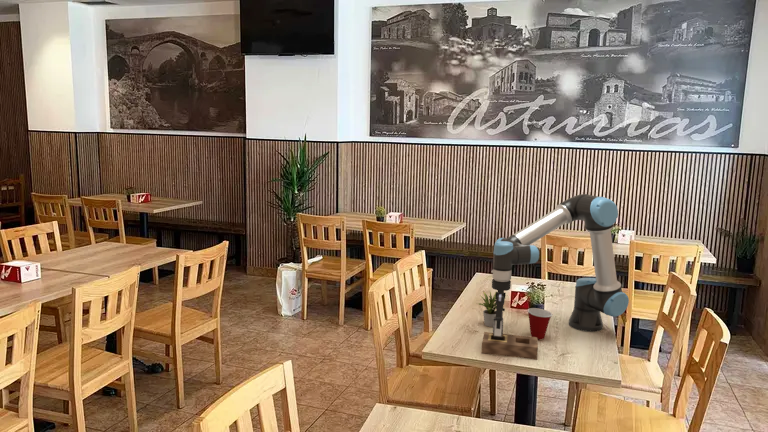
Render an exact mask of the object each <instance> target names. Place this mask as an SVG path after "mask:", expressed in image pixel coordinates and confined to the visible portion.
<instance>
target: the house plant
mask: <svg viewBox="0 0 768 432" xmlns="http://www.w3.org/2000/svg"><path fill="white" fill-rule="evenodd" d="M496 292H497V291H495V292H494V295H493V296H492V293H491V291H489V295H488V294H486V292H485V291H483V295H484V297H483V296H482V295H480V297H481V299H482V300H483V301H484V302H483V303H478V304H477V305H480V306H483V307H485V310H483V311H482V314H483V315H482V316H483V323H484V326H485V327H488V328H493V318H494V317H496V305H497V304H496ZM506 297H508V295H506ZM506 297H505V299H506Z"/></svg>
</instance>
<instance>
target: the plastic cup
mask: <svg viewBox="0 0 768 432" xmlns="http://www.w3.org/2000/svg"><path fill="white" fill-rule="evenodd" d="M527 313H528V321H529V323H528V324H529V330H530V337H537V341H538V340H542V341H543V340H544V339H545V337H546V334H547V333H546V332H547V330H548V326H549V322H550V320H551V319H552V317H553V313H552V312H551V311H549V310H546V309H542V308H538V307H537V308H536V307H531V308H528V309H527Z"/></svg>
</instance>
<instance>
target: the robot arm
mask: <svg viewBox="0 0 768 432" xmlns="http://www.w3.org/2000/svg"><path fill="white" fill-rule="evenodd" d="M618 217H619V209H618V206H617V204H616V203H615V202H614V201H613V200H611V199H610V198H608V197H607V198H606V197H605V196H597V195H593V194H592V195H591V194H588V193H583V194H582V193H581V194H578V195H574V196H572V197H570V198H568V199H565V200H564V201H562V202H560V203H559V204H557V205H556V206H555V208H554V209H553V210H551V211H550V212H548V213H547V214H545V215H543V216H542V217H540V218H539V219H537V220H535V221H534V222H532V223H530V224H528V225H527V226H525V227H523V228H522V229H520V230H518V231H517V232H515V233H514V234H512V235H511V236H509V237H499V238H498V239H497V240H496V241H495V242H494V246H493V252H492V253H493V257H492V258H493V259H492V260H493V263H492V270H491V272H490V273H491V274H492V279H491V288H492V289H493V290H495V292H496V301H495V302H496V304H497V305H496V309H495V311H496V318H495V319H494V320H495V332H494V336H501V330H502V317H503V318H504V312H505V310H506V309H505V308H504V305H505V298H506V296H507V295H506V292H505V291H509V290H510V289H511V285H512V284H511V283H512V281H511V280H512V273H513V272H512V269H513V265H514V266H515V265H530V264H536V263H538V261H539V259H540V251H539V249H538V247H537V246H536V245H534V243H535V242H537V241H539V240H540V239H542V238H544V237H545V236H546V235H548V234H551V232H554V231H555V230H556V229H558V228H560V227H561V226H563V225H565V224H568V225H569V224H571V223H573V222H575V221H583V222H584V228H585V230H586V231H587V232H589V235H590V236H589V237H590V245H591V252H592V260H593V261H592V262H593V266H594V274H595V277H581V278H578V279H576V281H575V282H576V283H575V288H574V289H575V290H574V306H573V310H572V312H571V315H570V317H569V319H568V326H569V327H570V328H572V329H575V330H578V331H582V332H589V333H590V332H591V333H593V332H600V331H602V330H603V327H604V322H603V318H602V315H601V313H602V314H604V315H606V316H610V317H614V318H615V317H618V316H622V315H623V314H624V313H625V311H626V310H627V309H628V306H629V303H630V301H629V299H630V298H629V296H628V295H627V294H626V293H625V292H624V291H623V289H622V283H621V282H620V281H619V280H618V278H617V270H616V262H615V255H614V254H615V253H614V246H613V239H612V238H613V237H612V232H611V231H612V229H613V228H614V227H615V223H616V222H617V219H618ZM532 244H533V245H532ZM497 317H500V318H497Z"/></svg>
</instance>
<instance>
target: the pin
mask: <svg viewBox="0 0 768 432" xmlns="http://www.w3.org/2000/svg"><path fill="white" fill-rule="evenodd" d="M495 318H496V317H494V318H493V327H492V333H493V340H501V341H503V334H504V316H503V317H502V330H501V336H494V332H495V320H494V319H495ZM497 318H500V317H497Z"/></svg>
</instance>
